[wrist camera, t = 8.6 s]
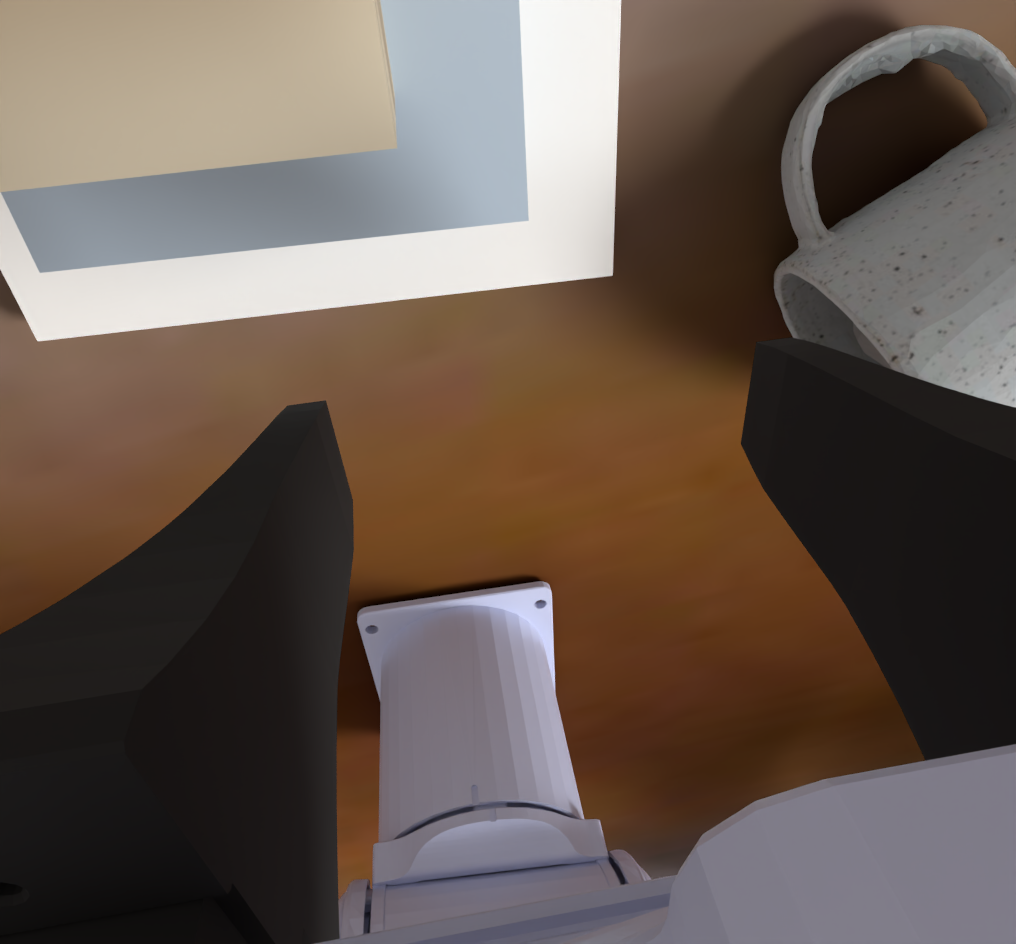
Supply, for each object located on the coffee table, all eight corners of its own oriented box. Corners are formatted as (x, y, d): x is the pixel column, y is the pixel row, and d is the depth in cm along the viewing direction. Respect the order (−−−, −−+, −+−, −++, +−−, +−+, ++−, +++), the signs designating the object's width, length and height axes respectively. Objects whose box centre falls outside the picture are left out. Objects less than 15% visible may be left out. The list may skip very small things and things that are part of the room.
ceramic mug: (1047, 259, 23) (1290, 360, 17) (824, 401, 25) (964, 537, 19) (970, -63, 17) (1293, -94, 11) (691, 155, 19) (829, 233, 13)
